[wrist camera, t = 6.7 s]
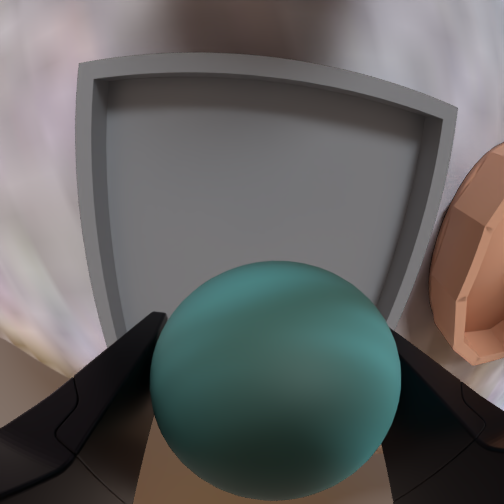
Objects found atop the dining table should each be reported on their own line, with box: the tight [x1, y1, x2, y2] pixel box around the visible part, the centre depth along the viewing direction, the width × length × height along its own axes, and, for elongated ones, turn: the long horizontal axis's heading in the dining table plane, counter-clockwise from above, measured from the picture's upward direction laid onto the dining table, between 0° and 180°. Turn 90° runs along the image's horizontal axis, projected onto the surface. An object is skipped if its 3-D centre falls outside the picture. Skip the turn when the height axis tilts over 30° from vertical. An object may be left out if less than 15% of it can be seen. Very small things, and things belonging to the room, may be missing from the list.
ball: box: [150, 261, 401, 501], centre depth 7 cm, size 6×6×6 cm
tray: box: [75, 52, 458, 348], centre depth 13 cm, size 16×16×2 cm
